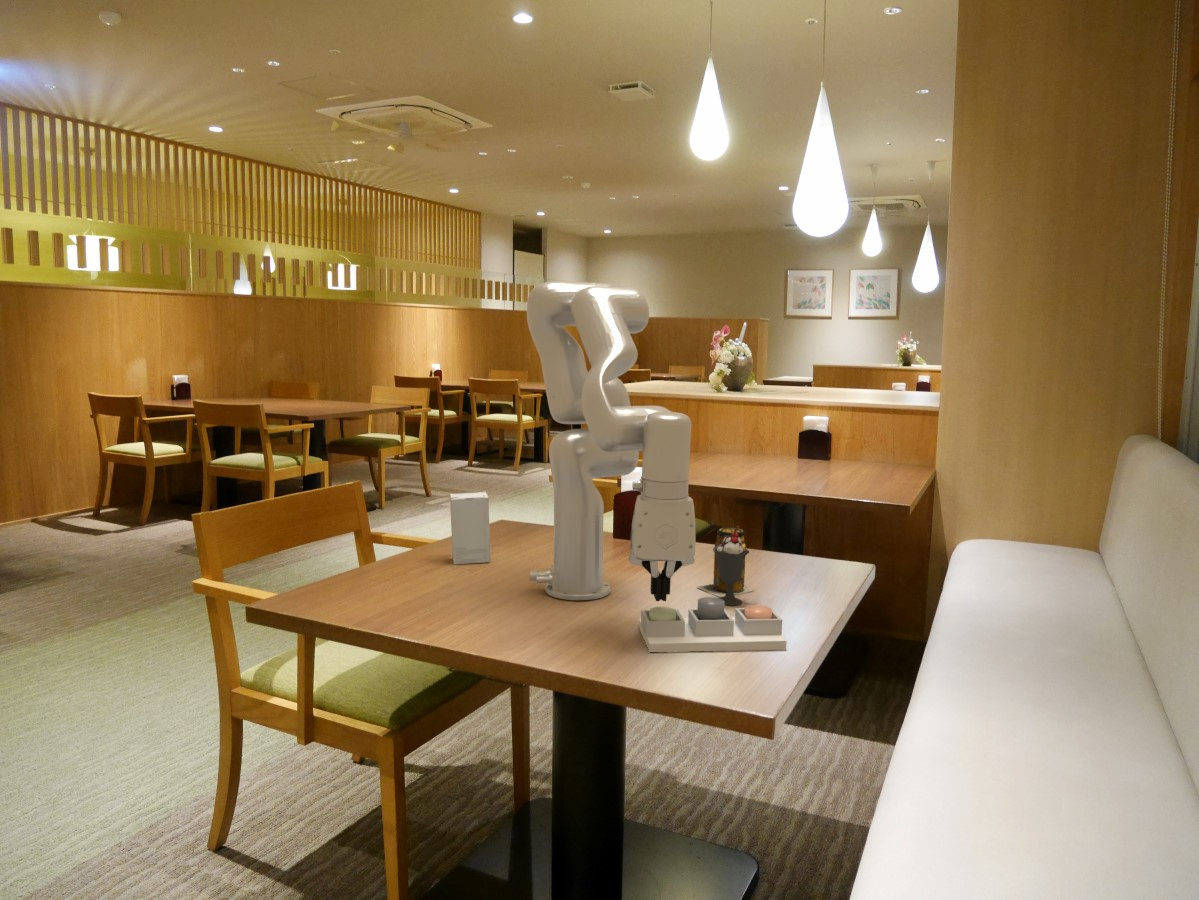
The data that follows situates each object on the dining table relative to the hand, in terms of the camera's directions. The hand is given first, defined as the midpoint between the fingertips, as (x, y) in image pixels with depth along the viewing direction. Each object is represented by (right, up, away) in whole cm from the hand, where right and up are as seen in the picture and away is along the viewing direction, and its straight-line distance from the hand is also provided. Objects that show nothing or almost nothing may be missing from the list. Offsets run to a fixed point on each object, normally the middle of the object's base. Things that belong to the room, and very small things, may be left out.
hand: (659, 598), depth 141 cm
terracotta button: (+16, -5, +1) cm, 17 cm away
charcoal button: (+8, -3, 0) cm, 9 cm away
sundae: (+15, -4, +20) cm, 25 cm away
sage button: (0, -5, 0) cm, 5 cm away
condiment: (+15, -3, +28) cm, 32 cm away
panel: (+8, -7, +1) cm, 11 cm away
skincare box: (-38, 0, +47) cm, 61 cm away
